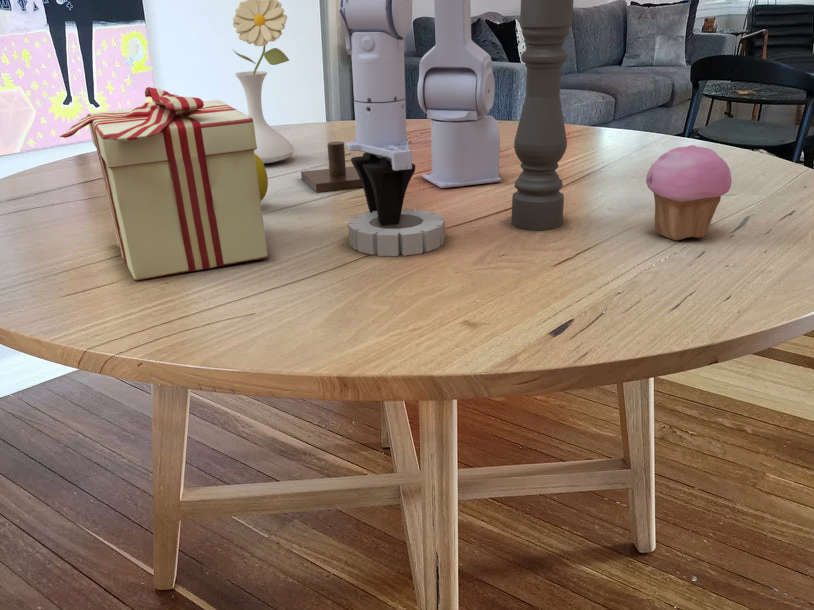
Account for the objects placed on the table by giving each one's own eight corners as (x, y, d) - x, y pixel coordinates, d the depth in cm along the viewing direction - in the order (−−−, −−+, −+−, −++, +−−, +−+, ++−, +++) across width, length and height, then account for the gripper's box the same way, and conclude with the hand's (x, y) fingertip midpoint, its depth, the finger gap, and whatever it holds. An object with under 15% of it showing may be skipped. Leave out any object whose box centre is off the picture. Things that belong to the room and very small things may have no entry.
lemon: (262, 216, 107) (255, 152, 103) (222, 214, 108) (213, 151, 104) (276, 205, 111) (270, 144, 108) (238, 204, 112) (230, 143, 109)
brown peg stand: (358, 173, 127) (356, 135, 125) (376, 185, 120) (374, 145, 117) (301, 179, 125) (298, 140, 122) (316, 192, 117) (313, 151, 114)
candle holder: (566, 217, 102) (580, -9, 90) (557, 231, 97) (571, -7, 85) (517, 214, 104) (525, -8, 92) (505, 228, 99) (512, -6, 87)
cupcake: (697, 223, 98) (709, 136, 94) (737, 244, 91) (752, 150, 86) (627, 229, 97) (636, 141, 92) (663, 251, 89) (674, 156, 84)
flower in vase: (212, 167, 134) (188, -4, 123) (249, 153, 144) (231, -7, 132) (282, 171, 130) (264, -6, 118) (316, 157, 139) (303, -9, 127)
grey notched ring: (424, 224, 101) (423, 205, 100) (458, 248, 92) (458, 227, 91) (338, 235, 98) (337, 215, 97) (366, 261, 89) (365, 239, 88)
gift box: (79, 251, 95) (44, 92, 87) (234, 226, 103) (215, 78, 94) (110, 294, 82) (71, 111, 73) (284, 261, 89) (267, 93, 81)
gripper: (327, 94, 96) (335, 210, 103) (364, 111, 84) (371, 241, 91) (385, 90, 98) (389, 203, 105) (429, 105, 86) (431, 233, 93)
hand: (384, 220), depth 98 cm, fingers open, 3 cm apart
